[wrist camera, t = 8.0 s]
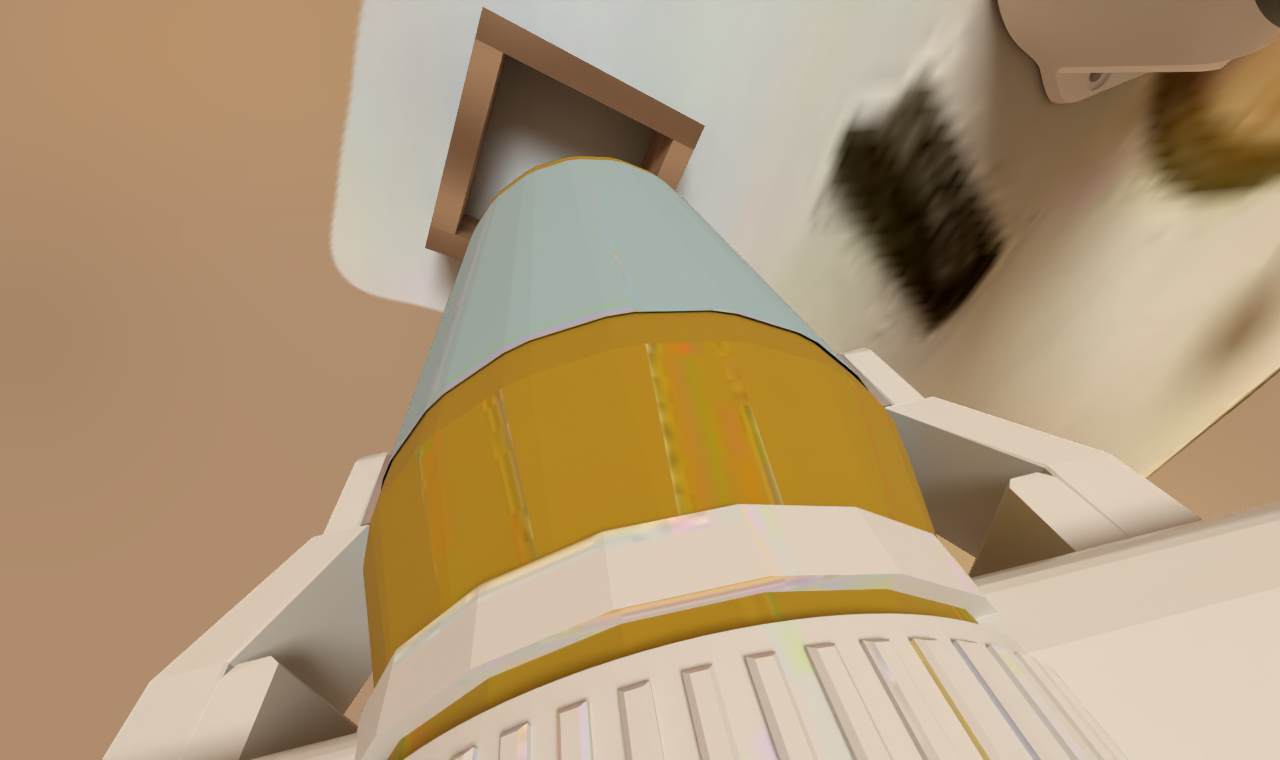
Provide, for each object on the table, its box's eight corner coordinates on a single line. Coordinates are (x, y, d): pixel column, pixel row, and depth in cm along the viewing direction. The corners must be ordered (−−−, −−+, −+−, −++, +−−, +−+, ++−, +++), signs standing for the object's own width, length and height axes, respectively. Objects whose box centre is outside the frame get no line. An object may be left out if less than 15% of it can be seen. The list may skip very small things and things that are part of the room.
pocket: (489, 13, 24) (482, 6, 20) (684, 117, 28) (704, 125, 24) (437, 225, 28) (425, 247, 25) (609, 287, 33) (618, 313, 29)
